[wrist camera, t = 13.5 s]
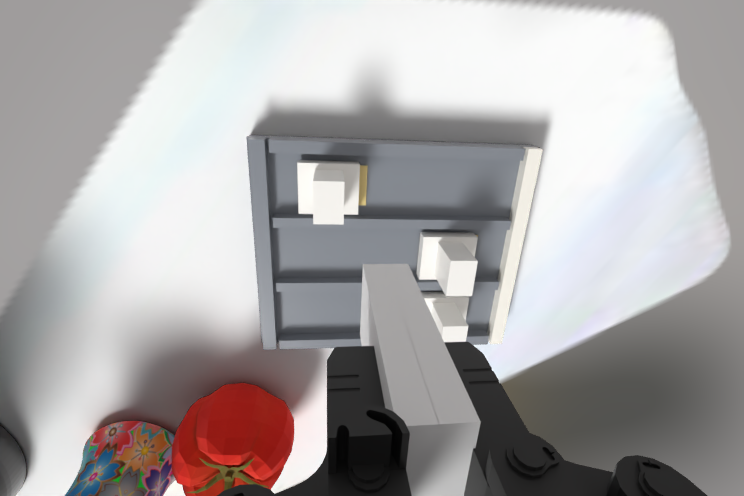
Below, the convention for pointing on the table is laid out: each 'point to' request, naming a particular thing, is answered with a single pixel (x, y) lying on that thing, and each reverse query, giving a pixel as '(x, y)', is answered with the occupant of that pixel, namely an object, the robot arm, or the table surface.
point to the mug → (126, 461)
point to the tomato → (232, 441)
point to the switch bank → (383, 229)
